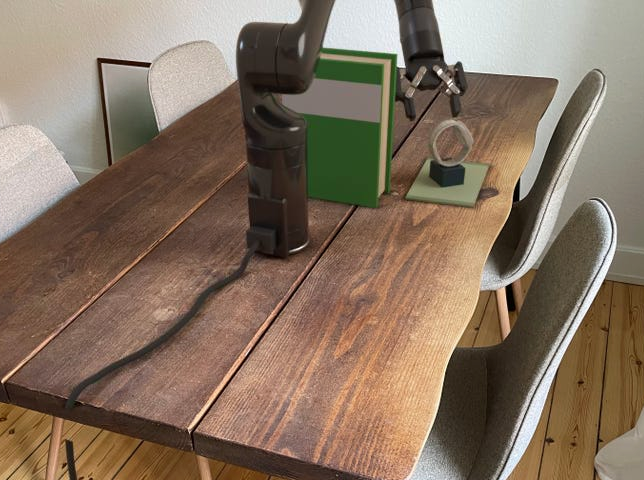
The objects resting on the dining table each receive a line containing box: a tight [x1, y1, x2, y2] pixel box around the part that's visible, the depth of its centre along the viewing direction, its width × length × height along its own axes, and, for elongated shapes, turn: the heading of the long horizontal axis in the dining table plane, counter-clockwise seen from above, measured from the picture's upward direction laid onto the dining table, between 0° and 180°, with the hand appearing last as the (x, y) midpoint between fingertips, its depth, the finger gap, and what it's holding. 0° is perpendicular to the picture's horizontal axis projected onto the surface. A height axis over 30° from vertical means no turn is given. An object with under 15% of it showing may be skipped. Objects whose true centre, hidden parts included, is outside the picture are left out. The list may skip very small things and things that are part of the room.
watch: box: [427, 119, 475, 188], centre depth 137 cm, size 6×8×11 cm
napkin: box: [404, 157, 490, 208], centre depth 140 cm, size 20×12×1 cm, turn 160°
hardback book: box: [281, 47, 398, 209], centre depth 131 cm, size 18×7×24 cm, turn 65°
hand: (434, 117), depth 144 cm, fingers open, 8 cm apart
